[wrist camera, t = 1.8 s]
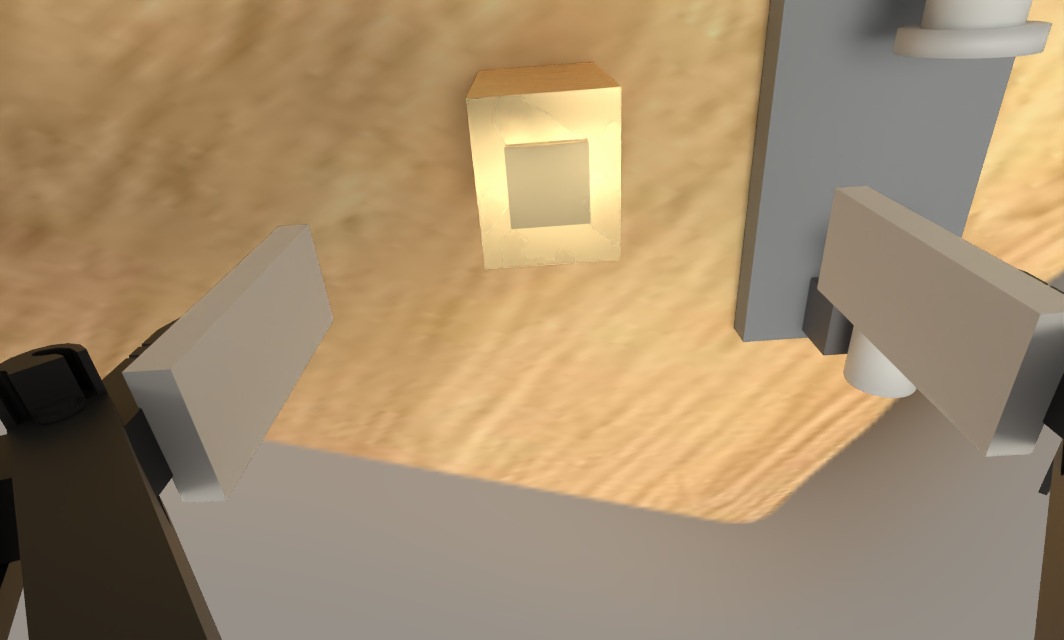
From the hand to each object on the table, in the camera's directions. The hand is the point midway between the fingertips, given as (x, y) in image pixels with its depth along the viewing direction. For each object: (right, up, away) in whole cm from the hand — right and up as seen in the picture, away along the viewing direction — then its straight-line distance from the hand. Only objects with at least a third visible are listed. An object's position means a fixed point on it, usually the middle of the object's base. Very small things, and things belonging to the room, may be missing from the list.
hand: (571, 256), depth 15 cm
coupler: (-1, +7, +12) cm, 14 cm away
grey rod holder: (+14, +7, +13) cm, 20 cm away
